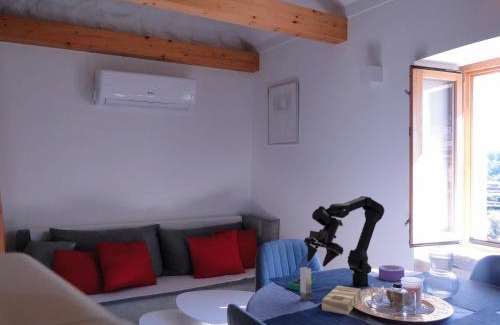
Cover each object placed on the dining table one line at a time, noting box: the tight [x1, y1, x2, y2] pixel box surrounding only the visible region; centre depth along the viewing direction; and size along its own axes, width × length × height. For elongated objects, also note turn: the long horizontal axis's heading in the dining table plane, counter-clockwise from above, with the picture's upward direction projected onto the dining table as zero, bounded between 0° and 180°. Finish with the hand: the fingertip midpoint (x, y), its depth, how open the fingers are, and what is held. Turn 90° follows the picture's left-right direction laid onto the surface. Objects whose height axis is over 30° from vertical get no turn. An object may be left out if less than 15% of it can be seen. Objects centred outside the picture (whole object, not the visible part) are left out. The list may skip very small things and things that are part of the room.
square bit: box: [299, 266, 313, 302], centre depth 175 cm, size 3×3×13 cm
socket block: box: [321, 285, 362, 315], centre depth 168 cm, size 20×10×4 cm, turn 151°
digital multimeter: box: [286, 277, 316, 291], centre depth 194 cm, size 7×15×3 cm, turn 144°
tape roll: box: [378, 264, 405, 282], centre depth 204 cm, size 12×12×5 cm
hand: (315, 263), depth 178 cm, fingers open, 9 cm apart
